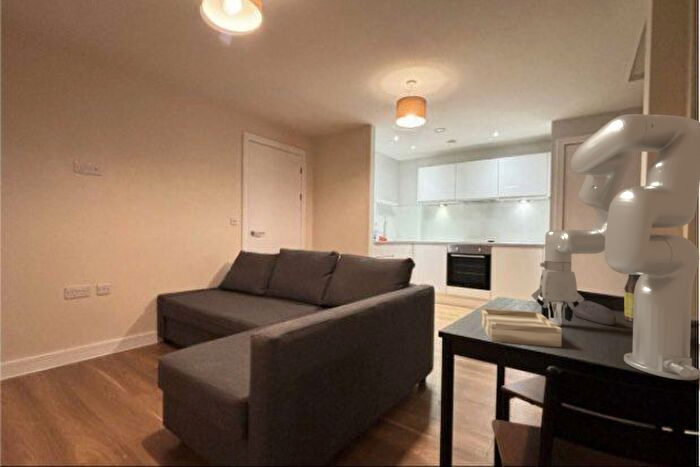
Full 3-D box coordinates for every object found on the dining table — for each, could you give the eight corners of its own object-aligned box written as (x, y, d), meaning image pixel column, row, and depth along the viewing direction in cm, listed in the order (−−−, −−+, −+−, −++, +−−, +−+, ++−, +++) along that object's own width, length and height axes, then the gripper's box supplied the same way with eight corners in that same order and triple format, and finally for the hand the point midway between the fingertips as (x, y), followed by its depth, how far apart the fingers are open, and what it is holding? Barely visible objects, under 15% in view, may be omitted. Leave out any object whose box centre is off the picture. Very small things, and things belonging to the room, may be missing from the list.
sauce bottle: (638, 319, 114) (639, 265, 113) (653, 324, 108) (654, 267, 107) (618, 318, 114) (620, 264, 114) (632, 323, 108) (634, 266, 108)
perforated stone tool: (621, 327, 104) (622, 307, 104) (609, 328, 103) (609, 307, 103) (579, 315, 118) (579, 297, 118) (568, 315, 117) (568, 297, 117)
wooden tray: (561, 348, 86) (561, 328, 85) (491, 342, 90) (491, 323, 90) (537, 328, 103) (538, 312, 103) (480, 324, 107) (480, 308, 107)
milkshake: (560, 328, 102) (561, 298, 102) (544, 323, 107) (545, 294, 107) (569, 326, 104) (569, 297, 104) (552, 322, 109) (553, 293, 109)
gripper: (533, 267, 103) (532, 320, 104) (593, 269, 99) (591, 324, 100) (526, 264, 111) (525, 314, 111) (581, 266, 107) (580, 318, 107)
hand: (556, 319), depth 105 cm, fingers open, 6 cm apart
